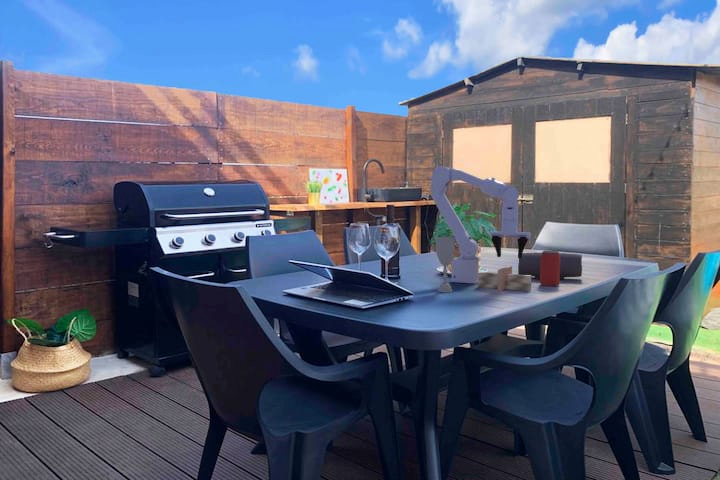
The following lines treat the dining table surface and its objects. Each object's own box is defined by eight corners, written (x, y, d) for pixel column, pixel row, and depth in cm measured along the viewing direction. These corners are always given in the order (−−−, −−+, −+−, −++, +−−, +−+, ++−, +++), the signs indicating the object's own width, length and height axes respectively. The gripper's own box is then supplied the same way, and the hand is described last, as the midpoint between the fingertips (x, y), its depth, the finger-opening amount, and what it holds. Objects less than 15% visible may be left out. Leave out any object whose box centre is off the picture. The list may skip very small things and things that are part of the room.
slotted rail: (478, 286, 215) (478, 272, 214) (480, 286, 216) (480, 272, 216) (529, 290, 205) (529, 276, 205) (531, 290, 207) (531, 275, 207)
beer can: (554, 287, 212) (555, 253, 211) (536, 285, 216) (537, 251, 215) (562, 285, 217) (563, 251, 216) (544, 283, 221) (545, 250, 220)
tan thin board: (497, 290, 207) (497, 270, 206) (508, 285, 217) (508, 265, 216) (501, 290, 206) (501, 270, 205) (511, 285, 216) (512, 266, 216)
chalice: (431, 291, 206) (431, 238, 204) (438, 288, 212) (438, 236, 210) (452, 293, 202) (452, 238, 201) (458, 290, 208) (458, 237, 207)
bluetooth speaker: (517, 279, 231) (518, 253, 231) (519, 276, 240) (519, 250, 239) (581, 281, 225) (582, 254, 224) (580, 278, 234) (581, 252, 233)
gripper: (486, 220, 220) (486, 257, 222) (526, 220, 213) (526, 259, 214) (493, 219, 227) (492, 255, 228) (532, 219, 219) (531, 257, 220)
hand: (509, 257), depth 221 cm, fingers open, 7 cm apart
